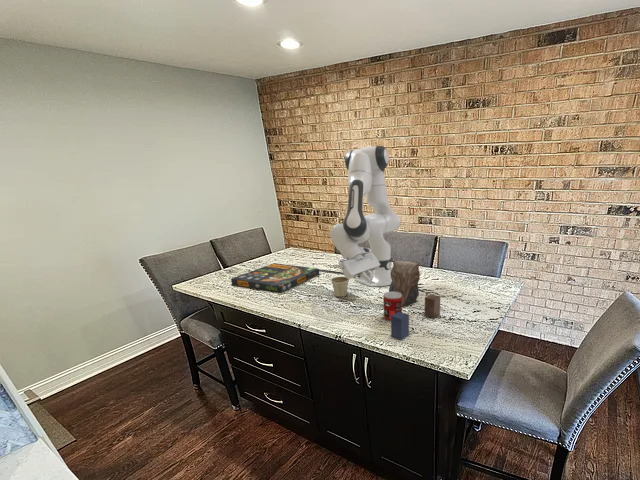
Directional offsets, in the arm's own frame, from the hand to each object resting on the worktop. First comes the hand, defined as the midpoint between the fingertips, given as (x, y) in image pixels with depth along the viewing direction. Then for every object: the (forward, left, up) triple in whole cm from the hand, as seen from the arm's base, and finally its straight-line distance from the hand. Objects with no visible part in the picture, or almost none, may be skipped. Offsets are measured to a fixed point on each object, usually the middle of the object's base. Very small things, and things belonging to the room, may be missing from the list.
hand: (370, 280), depth 151 cm
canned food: (+12, 0, -15) cm, 20 cm away
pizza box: (-77, +2, -15) cm, 78 cm away
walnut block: (+25, +12, -15) cm, 32 cm away
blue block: (+25, -12, -15) cm, 32 cm away
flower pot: (-27, +6, -15) cm, 31 cm away
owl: (+5, +17, -15) cm, 23 cm away
